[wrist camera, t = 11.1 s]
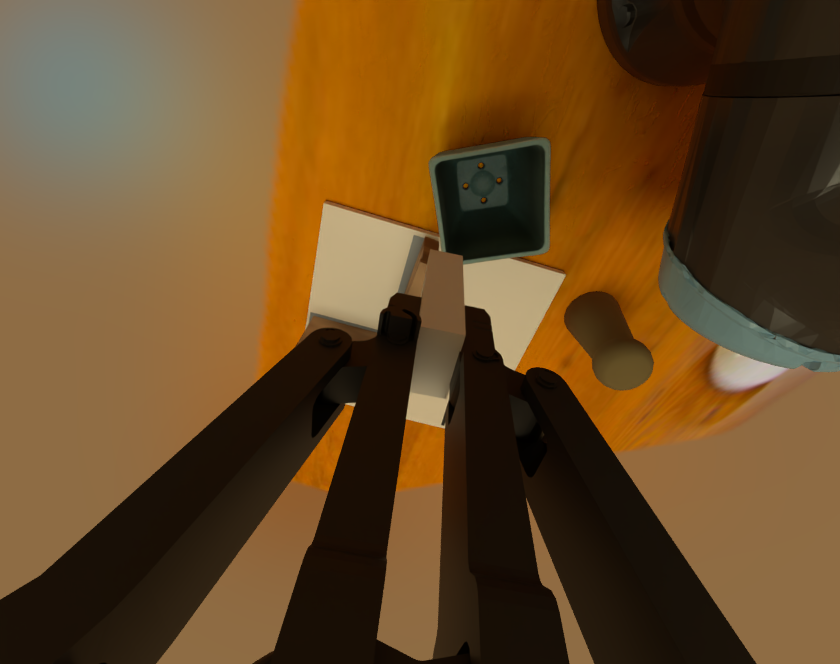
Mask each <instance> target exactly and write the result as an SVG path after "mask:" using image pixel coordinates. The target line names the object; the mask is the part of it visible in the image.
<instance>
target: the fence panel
mask: <svg viewBox="0 0 840 664" xmlns="http://www.w3.org/2000/svg"><path fill="white" fill-rule="evenodd" d="M430 249H432V250H437V251H439V241H437V240H434V239H431V238H428V237H426V236H425V238H424V241H423V244H422V247H421V249H420V252H419V255H418V257H417V260H416V263H415V266H414V268H413V271H412V274H411V277H410V279H409V282H408V285H407V288H406V290H405V293H404V294H407V295H412V296H417V297H420V296H421V291H422V286H423V281H424V277H425V272H426V267H427V262H428V258H429V253H430Z"/></svg>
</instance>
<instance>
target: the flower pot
mask: <svg viewBox="0 0 840 664" xmlns="http://www.w3.org/2000/svg"><path fill="white" fill-rule="evenodd" d="M550 161H551V145H550V141H549V140H548V139H547V138H541V137H523V138H518V139H512V140H506V141H501V142H495V143H490V144H484V145H478V146H472V147H467V148H461V149H455V150H449V151H443V152H440V153H438V154H436V155H435V156H434V157H432V158H431V159H430V161H429V172H430V177H431V183H432V189H433V195H434V201H435V208H436V215H437V222H438V228H439V236H440V243H441V252H446V253H451V254H456V255H461V256H463V265H466V264H473V263H479V262H485V261H493V260H499V259H506V258H515V257H522V256H530V255H531V256H532V255H540V254H543V253H546V252H547V251H548V250H549V246H550ZM479 163H483V164H484V167H483V168H481V169H480V168H479V167H478V164H479ZM497 178H501V179H502V181H501V183H497V181H496V180H497ZM465 183H467V184H468V188H467V189H464V188H463V184H465ZM482 198H486V202H484V203H482V202H481V199H482Z"/></svg>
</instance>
